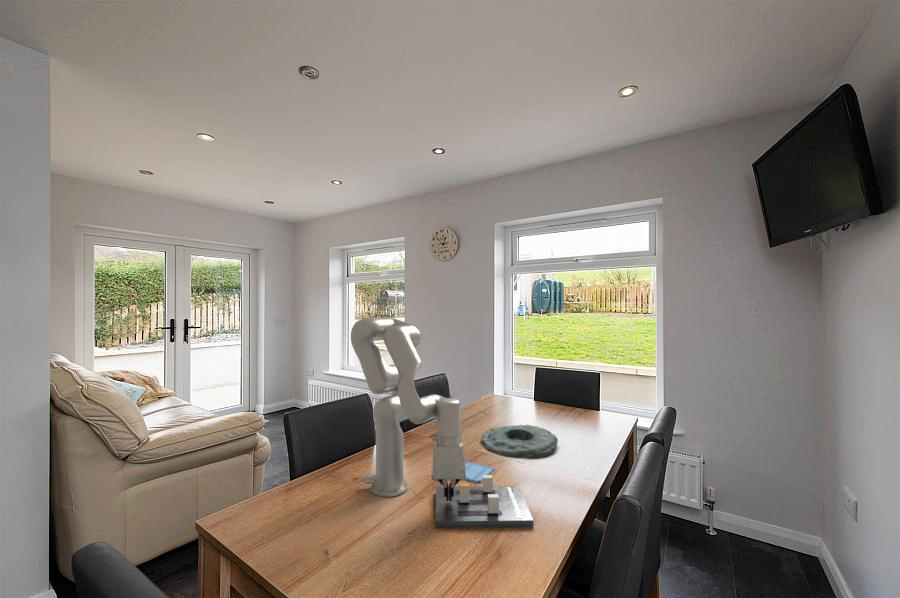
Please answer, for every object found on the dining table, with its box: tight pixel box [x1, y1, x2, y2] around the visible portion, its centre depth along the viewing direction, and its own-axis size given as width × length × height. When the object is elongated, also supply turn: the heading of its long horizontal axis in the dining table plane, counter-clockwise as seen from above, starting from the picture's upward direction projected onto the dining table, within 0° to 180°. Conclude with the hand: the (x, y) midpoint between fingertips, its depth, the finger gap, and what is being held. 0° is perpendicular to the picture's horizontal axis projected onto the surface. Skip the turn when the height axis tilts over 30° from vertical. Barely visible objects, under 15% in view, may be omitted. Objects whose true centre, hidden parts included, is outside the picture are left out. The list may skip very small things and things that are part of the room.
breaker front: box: [488, 494, 499, 513], centre depth 115 cm, size 3×2×5 cm, turn 92°
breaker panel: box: [435, 485, 534, 530], centre depth 122 cm, size 28×21×2 cm
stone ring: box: [481, 424, 559, 459], centre depth 180 cm, size 34×34×5 cm
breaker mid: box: [459, 482, 471, 502], centre depth 122 cm, size 3×2×5 cm, turn 92°
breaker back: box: [482, 474, 494, 492], centre depth 128 cm, size 3×2×5 cm, turn 92°
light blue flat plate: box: [465, 461, 495, 484], centre depth 148 cm, size 14×12×1 cm
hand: (448, 498), depth 121 cm, fingers closed
